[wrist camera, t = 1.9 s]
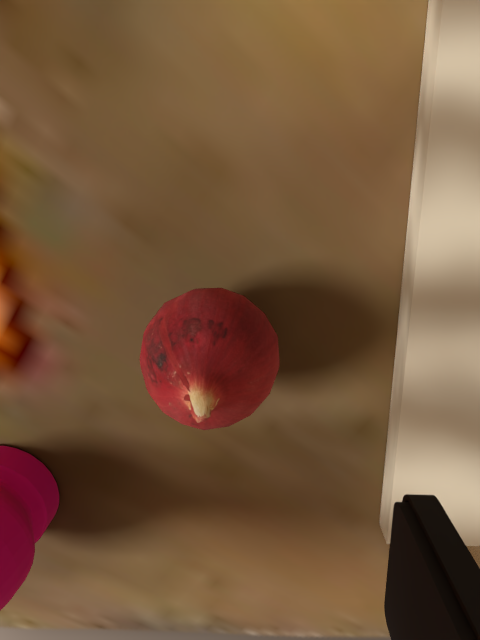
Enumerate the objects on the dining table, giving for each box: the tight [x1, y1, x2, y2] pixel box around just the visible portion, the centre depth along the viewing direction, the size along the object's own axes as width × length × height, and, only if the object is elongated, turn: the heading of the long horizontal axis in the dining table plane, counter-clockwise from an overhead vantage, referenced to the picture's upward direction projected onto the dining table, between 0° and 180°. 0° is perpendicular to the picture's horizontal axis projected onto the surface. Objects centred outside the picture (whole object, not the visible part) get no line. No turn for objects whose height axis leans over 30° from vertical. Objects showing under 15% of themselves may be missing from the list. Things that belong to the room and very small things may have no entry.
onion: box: [140, 288, 280, 430], centre depth 17 cm, size 6×6×8 cm
